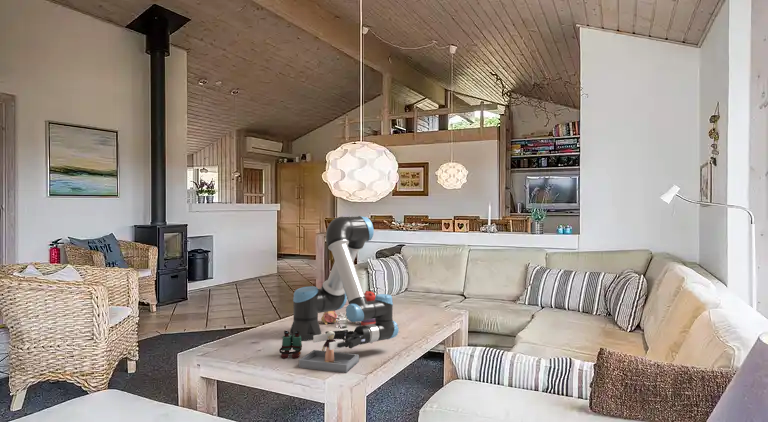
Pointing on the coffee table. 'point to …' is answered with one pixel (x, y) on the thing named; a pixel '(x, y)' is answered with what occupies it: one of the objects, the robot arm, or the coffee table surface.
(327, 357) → the grandmother figurine
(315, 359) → the tray
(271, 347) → the coffee table surface
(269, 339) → the coffee table surface
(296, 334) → the binoculars
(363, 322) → the stacking bear
